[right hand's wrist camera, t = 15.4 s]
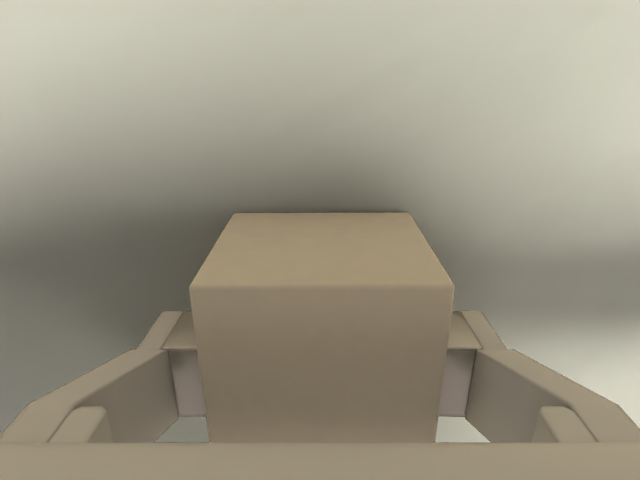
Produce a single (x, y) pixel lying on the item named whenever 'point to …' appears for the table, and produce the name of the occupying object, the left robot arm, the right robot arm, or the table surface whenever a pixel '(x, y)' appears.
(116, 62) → the table surface
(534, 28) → the table surface
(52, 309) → the table surface
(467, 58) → the table surface
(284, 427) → the block
